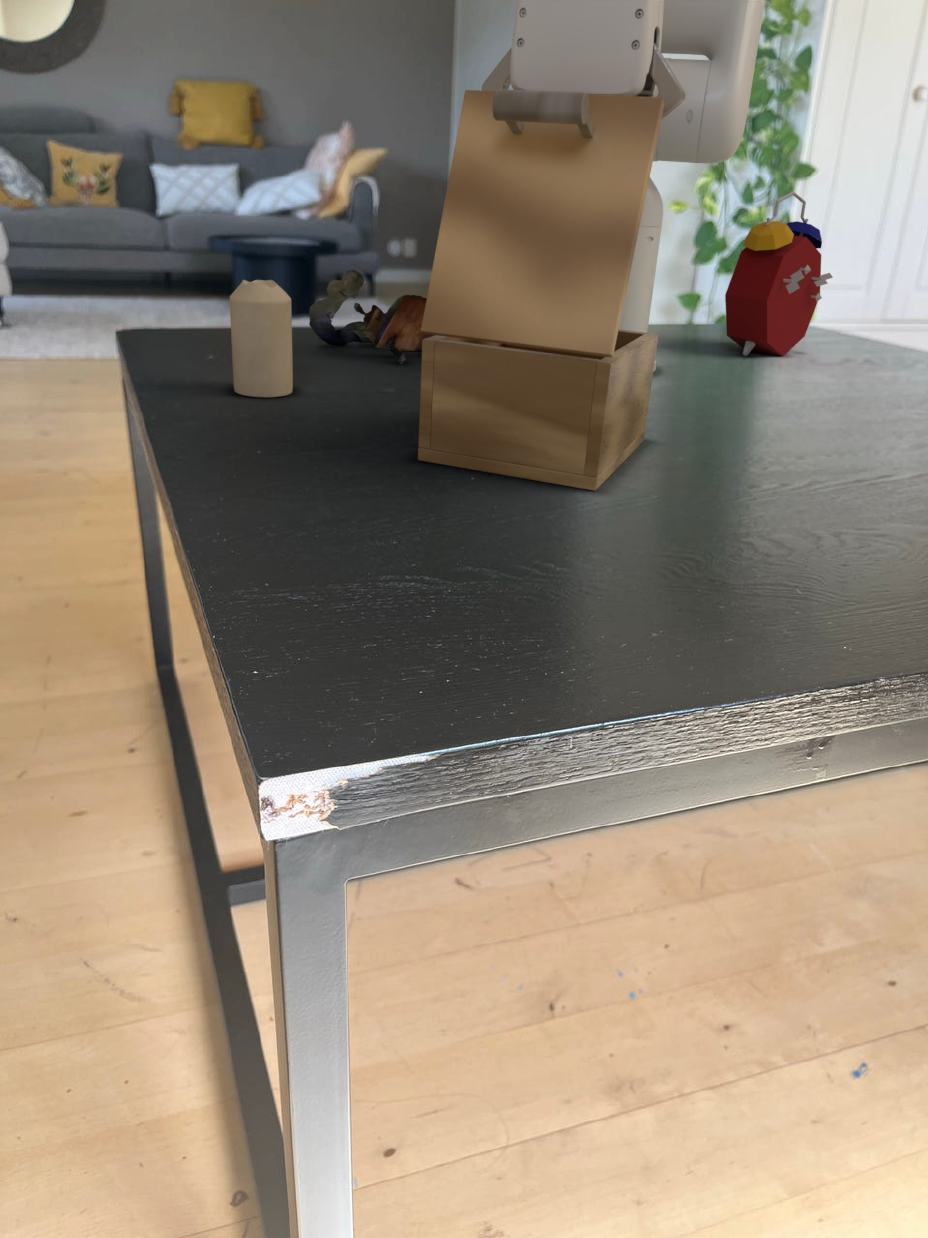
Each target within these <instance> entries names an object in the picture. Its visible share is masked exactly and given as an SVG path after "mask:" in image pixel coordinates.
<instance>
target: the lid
mask: <svg viewBox="0 0 928 1238" xmlns="http://www.w3.org/2000/svg"><path fill="white" fill-rule="evenodd" d="M462 99H463V100H462V106H461V111H460V116H459V122H458V127H457V132H456V133H457V134H456V137H455V143H454V149H453V154H452V160H451V164H450V170H449V175H448V176H449V177H448V180H447V181H448V182H447V185H446V192H445V197H444V202H443V208H442V213H441V219H440V224H439V230H438V235H437V240H436V246H435V253H434V258H433V262H432V268H431V273H430V279H429V285H428V290H427V296H426V298H427V300H426V306H425V311H424V316H423V322H422V327H421V332H423V333H424V334H429V335H434V336H435V335H437V336H445V337H453V338H461V339H469V340H477V341H484V342H492V343H500V344H508V345H516V346H524V347H532V348H540V349H548V350H556V351H563V352H571V353H579V354H587V355H595V356H603V357H611V358H612V357H613V354H614V349H615V344H616V340H617V335H618V330H619V325H620V320H621V315H622V310H623V305H624V300H625V295H626V290H627V286H628V281H629V276H630V271H631V266H632V261H633V256H634V251H635V246H636V241H637V236H638V231H639V227H640V222H641V217H642V212H643V207H644V202H645V197H646V192H647V187H648V182H649V177H650V178H651V174H652V173H651V172H652V167H653V162H654V161H653V158H654V153H655V148H656V143H657V138H658V133H659V128H660V123H661V118H662V114H663V109H664V104H665V103H664V99H663V98H662V97H638V96H612V95H588V93H585V92H558V91H531V90H514V89H509V90H504V89H498V90H496V91H482V90H478V89H477V90H475V89H470V90H469V89H464V94H463V98H462Z"/></svg>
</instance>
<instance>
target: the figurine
mask: <svg viewBox="0 0 928 1238" xmlns="http://www.w3.org/2000/svg"><path fill="white" fill-rule="evenodd" d="M364 282H365V279H364V276H363V274H362V273H360V271H358V270H355V269H348V270H346V271H345V273H344V274H343V276H342V279H341V280H337V279H332V280H330V281H329V282H328V285H327V287H326V292H327V295H326V297H325V298H323V299H319V300H316V301H315V302H313V304H311V305H310V306H309V311H308V315H309V316H308V318H309V323H308V325H309V326H310V328H311V330H312V331H313V332H314V333H315V335H316V336H317V337H318V338H319V339H320V340H321V341H322V342H324V343H326V344H327V345H328V346H333V347H343V346H344V347H345V346H346V345H348V344H351V343H360V344H363V343H365V344H371V345H372V344H373V346H374V348H376V349H377V348H378V349H386V350H389V351H390V352H391V353H392V355H393V359H394V360H396V361H397V362H398V364H400V365H403V364H404V361H406V355H405V353H422V340H423V339H426V338H429V337H432V336H435V335H429V334H424V333H423V332H421V327H422V322H423V316H424V311H425V306H426V300H427V297H423V296H422V295H416V294H404V295H401V296H400V297H398V298H397V299H396V300H395V301H394V302H393V304H391V306H390V307H389V308H388V309H387V311H386V312H384V311H383V310H382V309H381V308H380V307H379V306H378V305H376V304H372V305H371V308H370V309H371V310H369V311H368V312H365V311H364V308H363V307H362V306H361V304H360V302H359V303H358V302H355V303H354V304H353V309H354V311H355V312H357V313H359V314H360V315H362V316H364V317H363V320H362V321H361V320H358V321H352V322H349V323H347V324H346V325H345V326H344V327H343V328H340V329H335V327H334V325H333V323H332V322H333V321H332V319H334V317H335V315H336V314H337V312H338V311H339V310H340V309H341V307H342V305H343V304H344V302H345V301H347V300H348V297H351V298H352V299H356V298H357V297H358V296H359V290H360V289H361V288H362V287H363V284H364Z"/></svg>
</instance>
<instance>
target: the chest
mask: <svg viewBox="0 0 928 1238" xmlns="http://www.w3.org/2000/svg"><path fill="white" fill-rule="evenodd" d="M658 340H659V333H653V332H647V333H646V332H637V331H629V330H620V329H619V330H618V335H617V340H616V344H615V349H614V354H613V357H612V358H611V357H603V356H595V355H587V354H579V353H571V352H563V351H556V350H548V349H540V348H532V347H524V346H516V345H508V344H500V343H492V342H484V341H477V340H469V339H461V338H453V337H445V336H437V335H434V336H432V337H429V338H426V339H423V340H422V352H421V367H420V369H421V371H420V397H419V418H418V419H419V420H418V421H419V422H418V424H419V425H418V448H417V460H418V461H421V462H425V463H432V464H438V465H442V466H443V465H444V466H448V467H454V468H459V469H467V470H472V471H478V472H483V473H489V474H494V475H501V476H507V477H513V478H518V479H524V480H530V481H536V482H541V483H547V484H553V485H559V486H565V487H569V488H575V489H582V490H587V491H593V492H595V491H598V490H597V489H599V487H601V485H602V484H604V483H605V482H606V481H607V479H608V478H609V477H611V475H613V474H614V472H615V471H617V469H618V468H619V467H621V465H622V464H623V463H624V462H625V461H626V460H627V459H628V458H629V457H630V456H631V455H632V454H633V453H634V452H635V451H636V450H637V449H638V448H639V447H640V446H641V444H643V442H644V440H645V433H646V432H645V431H646V426H647V418H648V413H649V404H650V398H651V390H652V384H653V378H654V372H653V370H654V363H655V360H656V355H657V348H658V342H659V341H658Z"/></svg>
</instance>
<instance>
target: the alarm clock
mask: <svg viewBox="0 0 928 1238" xmlns="http://www.w3.org/2000/svg"><path fill="white" fill-rule="evenodd" d="M792 196H793V197H794V198H796V199H797V200H798V201H799V202H800V203H802V206H801V211H800V219H801V221H789V222H787V221H788V218H786V217H784V218H783V219H782V220H781V221H779V220H775V219H776V218H777V215H778V209H779V206H780V202H783V201H784V200H786V199H789V198H790V197H792ZM806 205H807V202H806V200H805V199H804V198H802V197H801V196H800V195H799V194H797V192H795V190H792V191H790V192H789V193H787V194H785V195H783V196H782V197H779V198H778V199H776V201H775V205H774V209H773V215H772V216H771V218H770V217H767V218H766V221H763V222H760V223H758V224H755V225H753V226H752V227H751V228H750V230H749V231H748V233H747V235H746V237H745V239H744V242H743V245H742V246H743V247H744V248H743V249H742V250H741V251H740V253H739V256H738V259H737V262H736V264H735V266H734V270H733V273H732V276H731V278H730V280H729V284H728V286H727V288H726V291H725V294H724V299H725V325H726V329H725V330H726V336H727V337H728V338H729V339H730V340H732V341H733V342H734V343H735V344H736V345H738V346H739V347H740V348H741V349H742V350H743V351H742V355H743V356H745V357H747V356H749V354H750V353H751V351H752V352H758V353H764V354H769V355H774V356H780V357H784V356H785V355H786V354H787V353H788V352H789V351H790V350H792V349H793V348H794V347H795V346H796V345H797V344H798V343H799V342H800V341H801V340H803V339H804V338H805V336H806V334H807V331H808V329H809V325H810V323H811V320H812V319H813V315H814V313H815V310H816V307H817V305H818V302H819V301H820V300H822V299H823V297H822V295H821V287H822V286H824V285H827V284H828V283H829V282H828V281H827V280H829V279H833V278H834V277H833V276H832V274H831V273H830V272H828V273H827V272H826V273H824V274H822V253H820V251H819V250H818V249H821V248H822V244H823V240H822V239H823V238H822V234H821V230H820V229H819V228H817V227H816V226H814V225H813V224H810V223H808V222H809V219H808V218H805V211H806Z"/></svg>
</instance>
